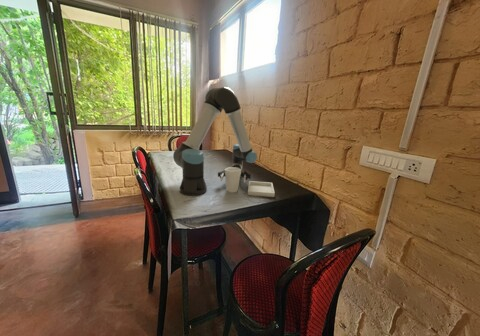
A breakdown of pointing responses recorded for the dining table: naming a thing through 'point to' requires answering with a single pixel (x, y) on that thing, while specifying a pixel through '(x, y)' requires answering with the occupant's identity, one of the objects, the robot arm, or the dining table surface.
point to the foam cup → (232, 178)
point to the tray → (261, 189)
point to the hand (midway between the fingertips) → (232, 179)
